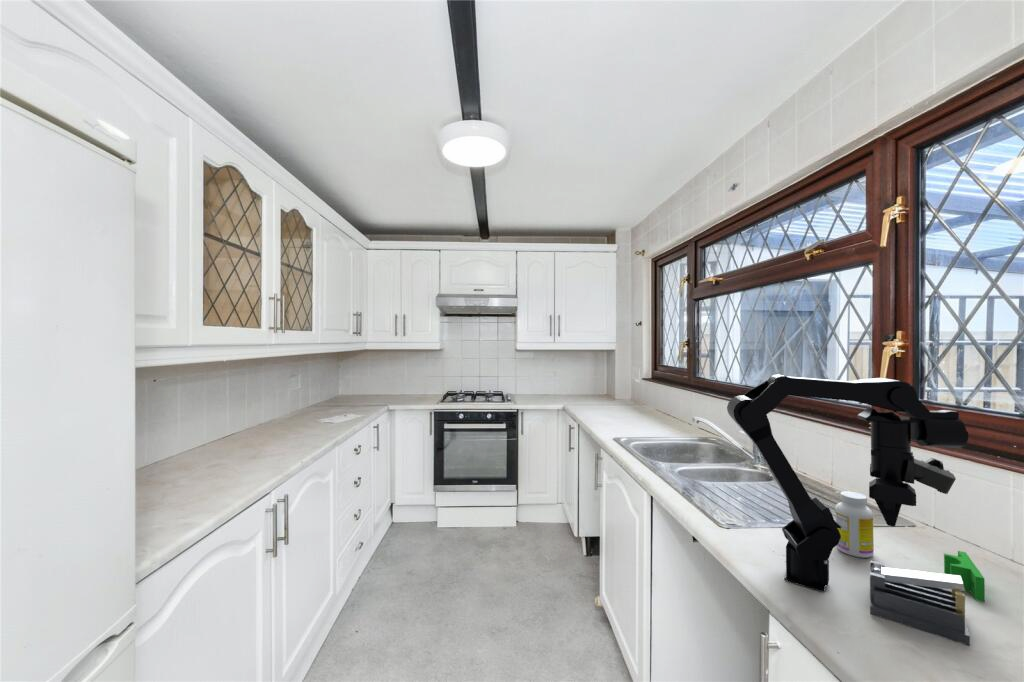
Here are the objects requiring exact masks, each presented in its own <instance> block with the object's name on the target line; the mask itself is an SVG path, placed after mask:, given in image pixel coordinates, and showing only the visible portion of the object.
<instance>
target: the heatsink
mask: <svg viewBox="0 0 1024 682" xmlns="http://www.w3.org/2000/svg"><path fill="white" fill-rule="evenodd" d="M869 563H870V564H869V565H870V568H871V566H872V565H873V564H878V565H880V566H882V567H885V565H886V564H885V563H883V562H879V561H876V560H870V562H869ZM869 585H870V588H869V596H870V597H869V601H870V602H869V605H870V606H869V607H870V608H869V611H870V613H869V614H870V615H873V616H876V617H879V618H881V619H885V620H888V621H890V622H894V623H898V624H901V625H904V626H907V627H910V628H913V629H915V630H916V629H917V630H919V631H922V632H925V633H928V634H931V635H934V636H938V637H942V638H945V639H947V640H951V641H954V642H958V643H960V644H964V645H967V646H971V635H970V633H969V629H968V626H967V623H966V595H965V593H963V592H961V591H958V590H950V589H943V588H935V587H927V586H919V585H911V584H903V583H895V582H887V581H885V576H883V575H880V574H876V573H872V572H871V571H869Z"/></svg>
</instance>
